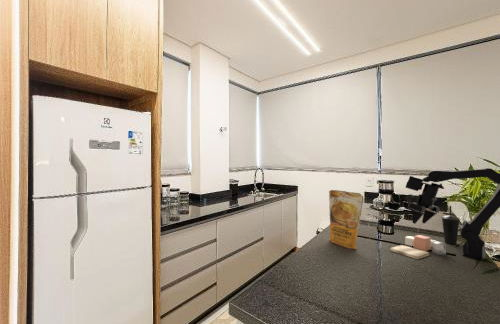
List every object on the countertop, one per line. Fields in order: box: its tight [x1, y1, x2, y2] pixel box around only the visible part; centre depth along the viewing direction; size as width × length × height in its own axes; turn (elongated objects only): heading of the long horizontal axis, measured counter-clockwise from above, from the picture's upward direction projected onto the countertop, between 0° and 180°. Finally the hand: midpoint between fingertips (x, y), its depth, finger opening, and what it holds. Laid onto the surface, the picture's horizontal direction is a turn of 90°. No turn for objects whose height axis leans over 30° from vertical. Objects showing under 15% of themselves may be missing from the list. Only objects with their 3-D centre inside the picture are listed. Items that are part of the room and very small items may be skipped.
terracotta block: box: [413, 234, 432, 252], centre depth 117 cm, size 5×5×6 cm
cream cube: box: [404, 235, 414, 248], centre depth 122 cm, size 4×4×4 cm
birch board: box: [389, 244, 430, 260], centre depth 111 cm, size 12×10×1 cm
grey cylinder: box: [431, 240, 447, 256], centre depth 111 cm, size 5×5×5 cm
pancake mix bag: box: [328, 189, 364, 250], centre depth 123 cm, size 7×19×28 cm, turn 31°
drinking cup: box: [441, 205, 461, 245], centre depth 125 cm, size 8×8×20 cm
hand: (418, 223), depth 119 cm, fingers open, 9 cm apart
